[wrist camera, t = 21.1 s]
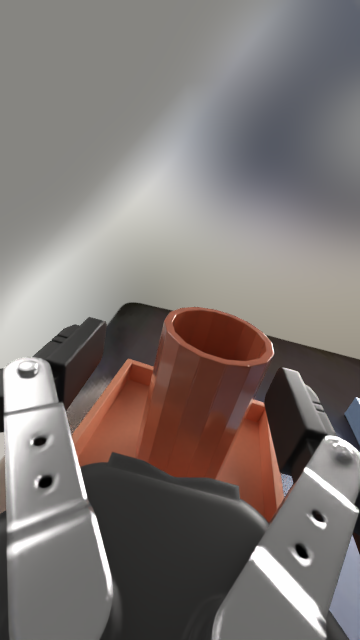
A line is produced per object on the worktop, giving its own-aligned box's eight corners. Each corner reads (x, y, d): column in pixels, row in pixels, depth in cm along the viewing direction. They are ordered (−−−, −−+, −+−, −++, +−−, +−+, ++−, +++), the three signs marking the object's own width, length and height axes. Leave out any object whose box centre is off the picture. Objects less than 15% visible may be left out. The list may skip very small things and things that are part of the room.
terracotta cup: (121, 481, 18) (150, 340, 13) (150, 414, 23) (178, 298, 19) (213, 516, 17) (280, 381, 12) (221, 438, 23) (268, 325, 18)
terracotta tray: (22, 529, 15) (20, 503, 14) (124, 378, 28) (128, 358, 26) (279, 634, 13) (300, 614, 12) (262, 424, 26) (271, 405, 25)
